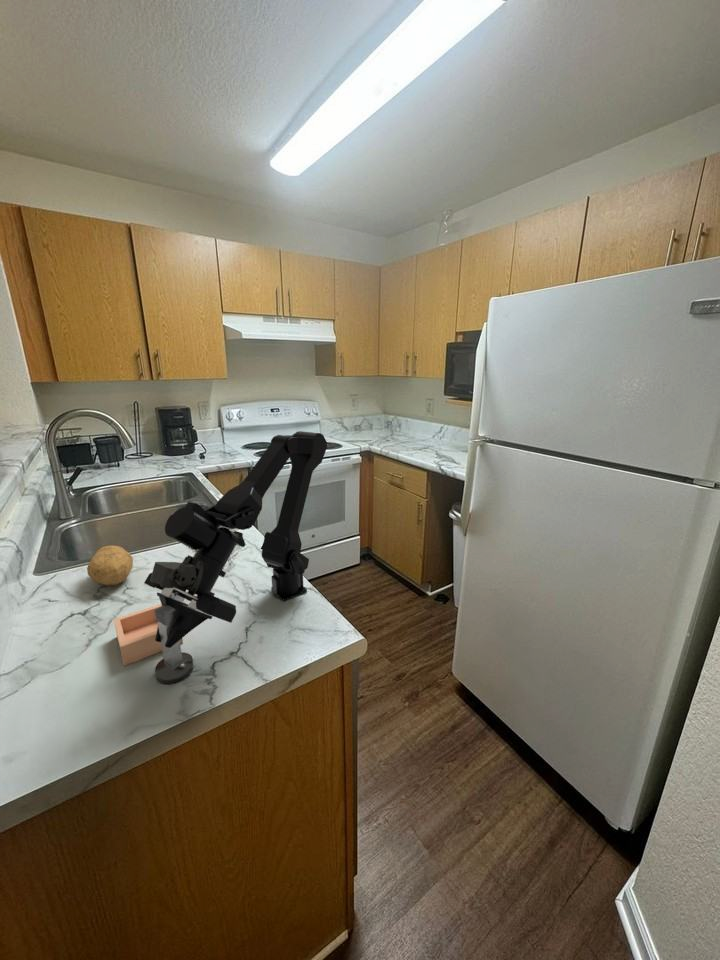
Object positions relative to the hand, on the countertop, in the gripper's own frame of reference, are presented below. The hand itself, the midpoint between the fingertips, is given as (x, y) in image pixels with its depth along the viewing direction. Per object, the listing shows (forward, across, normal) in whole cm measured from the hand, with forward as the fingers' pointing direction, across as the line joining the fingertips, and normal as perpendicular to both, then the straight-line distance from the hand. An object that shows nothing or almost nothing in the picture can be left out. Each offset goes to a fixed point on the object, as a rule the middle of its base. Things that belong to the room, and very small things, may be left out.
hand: (162, 644), depth 65 cm
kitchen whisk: (-20, -37, +30) cm, 51 cm away
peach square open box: (+2, -12, +7) cm, 14 cm away
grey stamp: (+4, 0, +6) cm, 7 cm away
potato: (-4, -41, +13) cm, 43 cm away
